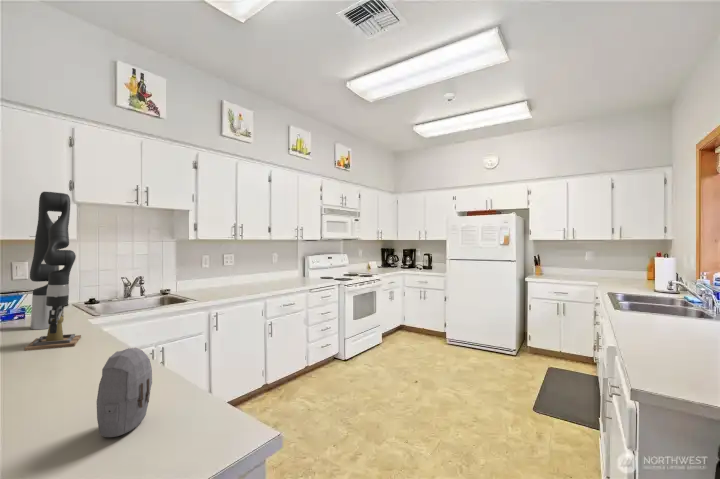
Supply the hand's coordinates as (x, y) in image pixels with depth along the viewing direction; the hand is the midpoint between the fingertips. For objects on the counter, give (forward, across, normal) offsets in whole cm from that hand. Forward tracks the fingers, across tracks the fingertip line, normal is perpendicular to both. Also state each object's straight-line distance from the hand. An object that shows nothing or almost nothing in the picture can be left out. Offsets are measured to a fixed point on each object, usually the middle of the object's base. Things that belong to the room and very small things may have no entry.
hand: (55, 331), depth 154 cm
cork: (+5, 0, 0) cm, 5 cm away
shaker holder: (+6, 0, 0) cm, 6 cm away
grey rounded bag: (+5, +97, +32) cm, 102 cm away
